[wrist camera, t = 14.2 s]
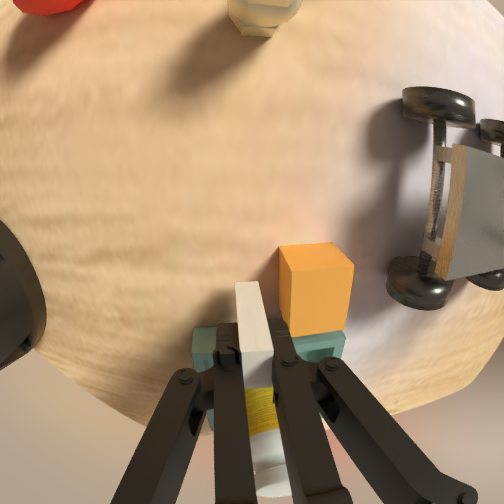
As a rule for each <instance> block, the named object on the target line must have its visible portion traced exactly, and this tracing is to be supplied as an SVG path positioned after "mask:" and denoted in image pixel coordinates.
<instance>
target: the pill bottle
mask: <svg viewBox="0 0 504 504" xmlns="http://www.w3.org/2000/svg"><path fill="white" fill-rule="evenodd" d="M245 399H246V408H247V418H248V427H249V437H250V446H251V455H252V463H253V470H254V471H255V472H256V474H255V475H254V480H255V488H256V495H258V496H261V497H282V496H289V495H292V492H291V487H290V482H289V477H288V472H287V467H286V461H285V456H284V451H283V446H282V440H281V435H280V430H279V425H278V419H277V414H276V409H275V403H273V384H272V387H267V388H255V389H245ZM272 403H273V404H272Z"/></svg>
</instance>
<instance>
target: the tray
mask: <svg viewBox="0 0 504 504" xmlns="http://www.w3.org/2000/svg"><path fill="white" fill-rule="evenodd" d="M216 329H217V327H201V328H194V331H193V340H192V349H191V355H192V359H193V363H194V368H195V371H196V372H202V371H205V370H208V369H209V368H211V367H212V366H213V365H214V363H213V356H212V354H213V351H214V350H215V349H216ZM345 339H346V337H345V335H344V333H343V332H342V330H337V331H332V332H326V333H319V334H313V335H306V336H299V337H292V340H293V343H294V347H295V350H296V353H297V355H299V356H300V357H301V359H303V360H305V361H308V362H315V363H319V362H320V360H321V359H323V358H325V357H329V356H333V357H337V358H340V359H341V356H342V352H343V348H344V343H345ZM319 413H320V412H319ZM207 417H208V420H209V424H210V427H211V430H214V409H210V410H207ZM320 417H321V418H323V417H322V415H321V414H320Z"/></svg>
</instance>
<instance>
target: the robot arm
mask: <svg viewBox="0 0 504 504" xmlns="http://www.w3.org/2000/svg"><path fill="white" fill-rule="evenodd" d="M235 294H236V312H237V323H220V324H219V326H218V327H217V329H216V349H215V350H214V351H213V354H212V356H213V363H214V365H213V366H212V367H211V368H209V369H208V370H205V371H202V372H196V371H195V370H193V369H190V368H184V369H180V370H178V371H176V372H175V373H174V374H173V375H172V377H171V379H170V381H169V383H168V385H167V387H166V389H165V391H164V393H163V395H162V397H161V399H160V401H159V403H158V405H157V407H156V409H155V411H154V413H153V415H152V417H151V419H150V421H149V424H148V426H147V428H146V430H145V432H144V434H143V436H142V438H141V440H140V442H139V444H138V446H137V448H136V450H135V453H134V455H133V457H132V459H131V461H130V463H129V465H128V467H127V469H126V471H125V474H124V475H123V478H122V480H121V482H120V484H119V486H118V488H117V490H116V492H115V495H114V497H113V499H112V501H111V503H110V504H175V503H176V500H177V497H178V494H179V491H180V489H181V485H182V483H183V480H184V477H185V474H186V471H187V468H188V465H189V463H190V460H191V456H192V454H193V450H194V448H195V445H196V442H197V439H198V436H199V433H200V430H201V427H202V424H203V422H204V419H205V416H206V413H207V410H210V409H214V470H215V504H258V503H257V496H256V488H255V480H254V472H253V463H252V455H251V446H250V437H249V427H248V418H247V408H246V399H245V389H255V388H267V387H272V384H273V403H275V409H276V414H277V419H278V425H279V430H280V435H281V440H282V446H283V451H284V456H285V461H286V467H287V472H288V477H289V482H290V487H291V492H292V498H293V502H294V504H353V502H352V498H351V495H350V493H349V491H348V490H347V489H346V488H345V487H343V486H342V484H341V481H340V478H339V474H338V471H337V468H336V465H335V461H334V458H333V455H332V452H331V448H330V445H329V442H328V439H327V436H326V433H325V429H324V426H323V423H322V420H321V417H320V414H321V415H322V417H323V418H324V420H325V421H326V423H327V424H328V426H329V427H330V429H331V430H332V432H333V433H334V434H335V436H336V437H337V439H338V440H339V442H340V443H341V445H342V446H343V448H344V449H345V450H346V452H347V453H348V455H349V456H350V458H351V459H352V460H353V462H354V463H355V465H356V466H357V467H358V469H359V470H360V472H361V473H362V474H363V476H364V477H365V479H366V480H367V481H368V483H369V484H370V485H371V487H372V488H373V489H374V491H375V492H376V494H377V495H378V496H379V498H380V499H381V500H382V502H383V503H384V504H476V503H477V500H478V493H477V491H476V489H474V488H473V487H471V486H469V485H467V484H465V483H462V482H460V481H458V480H456V479H454V478H452V477H449V476H447V475H445V474H443V473H441V472H440V471H439V470H438V469H437V468H436V467H435V465H434V464H433V463H432V462H431V461H430V460H429V459H428V458H427V457H426V455H425V454H424V453H423V452H422V451H421V450H420V448H419V447H418V446H417V445H416V444H415V443H414V442H413V440H412V439H411V438H410V437H409V436H408V435H407V434H406V432H405V431H404V430H403V429H402V428H401V427H400V426H399V424H398V423H397V422H396V421H395V420H394V419H393V418H392V416H391V415H390V414H389V413H388V412H387V411H386V410H385V408H384V407H383V406H382V405H381V404H380V403H379V402H378V400H377V399H376V398H375V397H374V396H373V395H372V394H371V392H370V391H369V390H368V389H367V388H366V387H365V385H364V384H363V383H362V382H361V381H360V380H359V379H358V377H357V376H356V375H355V374H354V373H353V372H352V371H351V369H350V368H349V367H348V366H347V365H346V364H345V363H344V361H342V360H341V359H340V358H337V357H333V356H329V357H325V358H323V359H321V360H320V362H319V363H315V362H308V361H305V360H303V359H301V357H300V356H299V355H297V353H296V350H295V347H294V343H293V340H292V337H291V334H290V331H289V328H288V325H287V323H286V322H285V321H284V320H283V319H274V320H267V318H266V314H265V310H264V305H263V301H262V296H261V292H260V288H259V283H258V281H252V282H235ZM45 324H46V308H45V301H44V297H43V293H42V289H41V286H40V283H39V280H38V278H37V275H36V273H35V270H34V268H33V266H32V264H31V262H30V260H29V258H28V256H27V254H26V252H25V251H24V249H23V247H22V246H21V244H20V243H19V241H18V240H17V238H16V237H15V236H14V234H13V233H12V232H11V231H10V229H9V228H8V227H7V226H6V225H5V224H4V223H3V222H2V221H1V220H0V370H2V369H3V368H5V367H6V366H8V365H10V364H11V363H13V362H14V361H16V360H17V359H19V358H20V357H22V356H24V355H25V354H27V353H28V352H29V351H30V350H31V349H32V348H33V347H34V346H35V344H36V343H37V341H38V340H39V338H40V337H41V335H42V334H43V332H44V329H45ZM273 403H272V404H273ZM319 412H320V413H319Z"/></svg>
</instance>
